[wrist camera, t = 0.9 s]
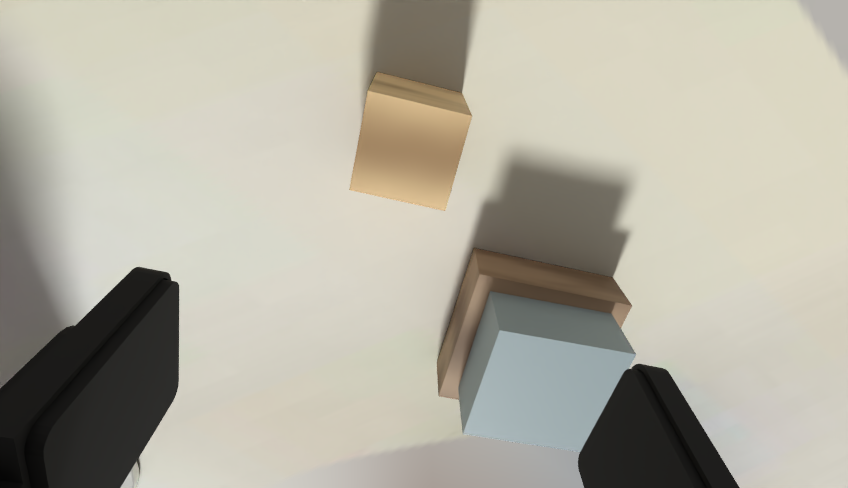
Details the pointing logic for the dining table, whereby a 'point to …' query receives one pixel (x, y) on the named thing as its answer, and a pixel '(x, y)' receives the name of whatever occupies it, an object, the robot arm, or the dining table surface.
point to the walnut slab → (521, 281)
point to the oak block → (410, 141)
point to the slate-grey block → (540, 372)
